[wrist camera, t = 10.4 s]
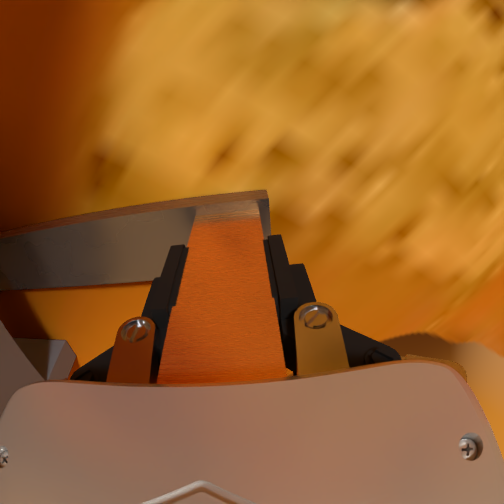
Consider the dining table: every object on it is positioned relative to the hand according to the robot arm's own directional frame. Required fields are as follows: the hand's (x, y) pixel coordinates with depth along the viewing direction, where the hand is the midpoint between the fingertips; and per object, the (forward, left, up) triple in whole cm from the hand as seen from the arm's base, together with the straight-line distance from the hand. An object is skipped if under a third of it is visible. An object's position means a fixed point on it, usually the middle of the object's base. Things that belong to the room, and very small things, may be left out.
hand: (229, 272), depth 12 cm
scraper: (0, -10, -4) cm, 11 cm away
